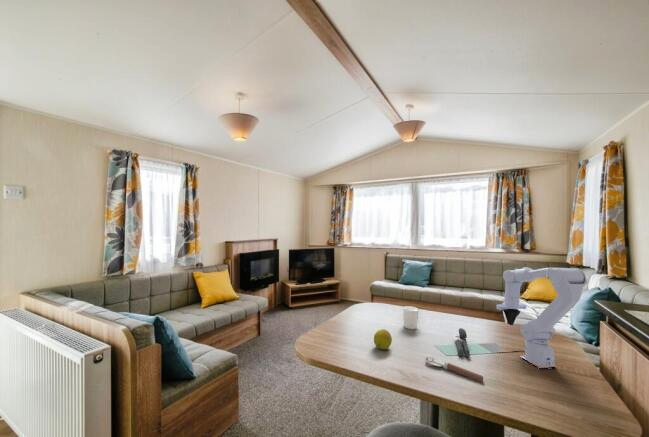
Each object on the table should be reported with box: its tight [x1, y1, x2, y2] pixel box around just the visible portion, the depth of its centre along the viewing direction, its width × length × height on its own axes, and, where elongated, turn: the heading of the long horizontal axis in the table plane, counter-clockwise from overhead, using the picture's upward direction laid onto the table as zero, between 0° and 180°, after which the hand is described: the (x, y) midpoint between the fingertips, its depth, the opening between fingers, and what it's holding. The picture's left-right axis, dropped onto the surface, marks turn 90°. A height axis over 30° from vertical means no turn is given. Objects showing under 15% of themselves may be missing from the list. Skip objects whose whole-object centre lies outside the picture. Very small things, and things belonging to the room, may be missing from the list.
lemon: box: [373, 328, 393, 351], centre depth 122 cm, size 11×8×8 cm
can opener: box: [453, 328, 471, 358], centre depth 124 cm, size 19×5×6 cm, turn 159°
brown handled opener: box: [424, 354, 484, 383], centre depth 105 cm, size 20×6×3 cm, turn 49°
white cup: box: [402, 305, 419, 330], centre depth 148 cm, size 8×8×10 cm
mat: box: [435, 342, 500, 357], centre depth 124 cm, size 9×39×1 cm, turn 99°
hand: (510, 324), depth 127 cm, fingers closed
